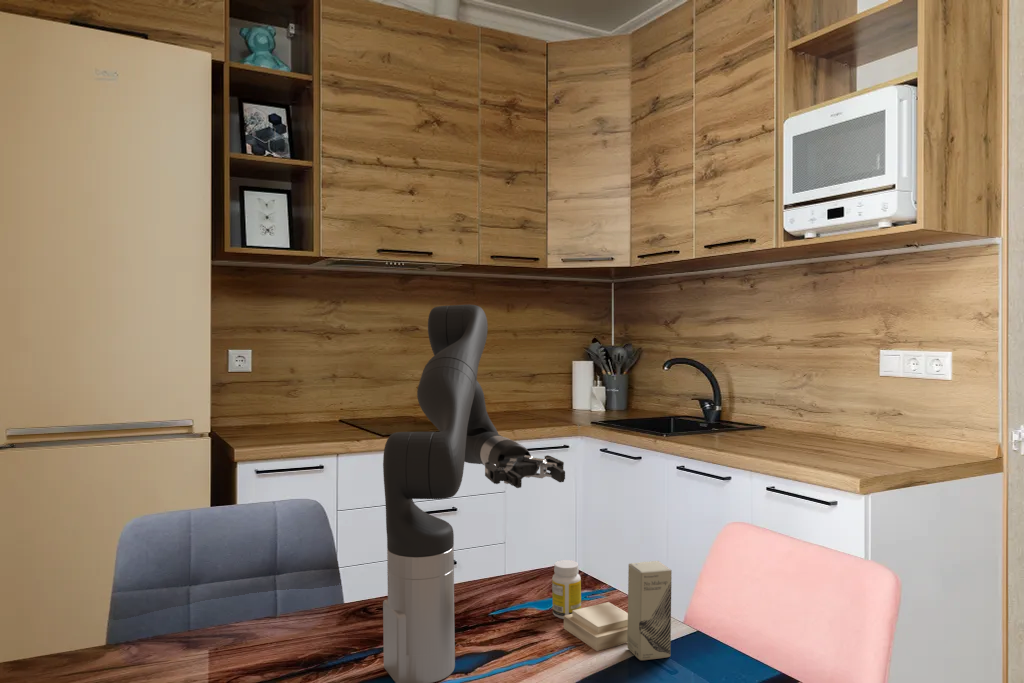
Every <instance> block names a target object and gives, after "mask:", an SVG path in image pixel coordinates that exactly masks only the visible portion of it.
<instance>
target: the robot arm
mask: <svg viewBox="0 0 1024 683" xmlns="http://www.w3.org/2000/svg"><path fill="white" fill-rule="evenodd" d="M488 327H489V326H488V318H487V314H486V312H485V311H484V309H483V308H482V307H481V306H479V305H475V304H454V305H453V304H452V305H440V306H439V305H438V306H434V307H433V308H431V310H430V311H429V314H428V318H427V334H428V339H429V345H430V347H431V350H432V353H433V356H432V357H431V358H430V359H429V360H428V362H426V364H425V366H424V368H423V370H422V373H421V376H420V379H419V383H418V386H417V390H416V391H417V393H416V397H417V401H418V404H419V407H420V409H421V411H422V412H423V414H424V415H425V416H426V418H427V419H428V420H429V421H430V422H431V423H432V424H433V426H435V427H436V428H437V430H438V431H396V432H393V433H392V434H390V435H389V436H388V438H387V439H386V443H385V444H384V449H383V458H382V459H383V460H382V461H383V462H382V468H383V469H382V470H383V471H382V472H383V486H384V498H385V503H384V504H385V525H386V526H385V527H386V528H385V529H386V551H387V552H386V554H387V555H386V557H387V560H386V561H387V562H386V564H387V569H386V570H387V572H386V573H387V575H386V576H387V599H384V600H383V601H382V619H383V620H382V623H383V625H382V627H383V628H382V630H383V634H382V635H383V641H382V642H383V643H382V644H383V668H384V669H385V671H386V672H387V673H388V675H389V676H390V677H391V679H392V680H393V681H394V683H435V682H439V681H441V680H444V679H446V678H448V677H450V675H451V674H453V672H454V670H455V668H456V662H455V661H456V649H455V648H456V647H455V643H456V642H455V640H456V639H455V638H456V637H455V636H456V635H455V568H454V567H455V559H454V558H455V557H454V556H455V554H454V553H455V551H454V550H455V549H454V545H455V543H454V542H455V541H454V540H455V537H454V536H455V534H454V529H453V526H452V525H451V524H450V523H449V522H448V521H446V520H444V519H441V518H440V517H437V516H434V515H431V514H430V513H427V512H426V511H424V510H422V509H421V508H420V507H419V506H417V504H415V502H414V500H445V499H450V498H453V497H454V496H456V495H457V493H458V491H459V490H460V488H461V485H462V481H463V477H464V476H463V475H464V469H465V468H464V467H465V463H468V464H476V465H482V466H484V476H485V478H487V479H488V480H489V481H491V483H493V484H494V485H498V484H499V485H500V484H501V482H503V483H504V484H505V485H506V484H507V485H508V484H509V485H510V486H513V487H514V488H517V489H521V488H522V479H524V478H535V479H536V478H537V479H543V478H546V477H548V478H551V479H553V480H554V481H556V482H558V483H564V482H565V480H566V471H565V470H564V465H565V462H564V461H563V460H560V459H558V458H555V457H553V456H551V455H549V454H547V455H544V458H537V457H534V456H533V455H532V454H530V451H529V450H528V449H527V448H526V446H524V445H522V444H520V443H518V442H516V441H514V440H513V439H511V438H509V437H505V436H503V435H500V434H499V433H498V430H497V428H496V427H495V424H494V423H493V422H492V420H491V418H490V416H489V414H488V411H487V406H486V400H485V394H484V391H483V388H482V386H481V383H479V381H478V371H479V365H480V361H481V358H482V356H483V352H484V349H485V346H486V343H487V339H488ZM538 471H539V472H538Z"/></svg>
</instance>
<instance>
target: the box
mask: <svg viewBox="0 0 1024 683" xmlns="http://www.w3.org/2000/svg"><path fill="white" fill-rule="evenodd" d="M627 571H628V572H627V573H628V577H627V578H628V581H627V582H628V584H627V587H628V588H627V589H628V590H627V613H628V631H627V643H626V646H627V649H628V650H629V651H630V652H631V653H632V654H633V655H634V656H635V657H636V658H637V659H638V660H639V661H648V660H650V661H651V660H656V659H664V658H670V657H671V651H672V650H671V646H672V645H671V644H672V643H671V642H672V639H671V638H672V637H671V636H672V635H671V634H672V573H673V572H672V569H671V568H669V567H667V565H665V564H663V563H662V562H661V561H659V560H655V561H640V562H631V563H630V562H629V563H628V570H627Z"/></svg>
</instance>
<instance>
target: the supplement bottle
mask: <svg viewBox="0 0 1024 683" xmlns="http://www.w3.org/2000/svg"><path fill="white" fill-rule="evenodd" d="M553 564H554V569H553V571H554V574H553V575H552V577H551V580H552V581H551V585H552V586H551V590H552V595H551V597H552V598H551V599H552V614H553V615H554V617H556V618H559V619H562V620H564V616H565V615H569V614H572V610H577V609H581V608H582V579H581V578H582V577H581V574H579V563H578V562H577V561H575V560H571V559H570V560H569V559H563V560H562V559H561V560H558V561H555V562H554V563H553Z"/></svg>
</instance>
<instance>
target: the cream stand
mask: <svg viewBox="0 0 1024 683" xmlns="http://www.w3.org/2000/svg"><path fill="white" fill-rule="evenodd" d="M563 629H564V630H565V631H567V632H568V633H570V634H571V635H573V636H574V637H575V638H577V639H578V640H580V641H582V642H583V643H585V645H587V646H588V647H590V648H592V649H593V650H595V652H599V651H602V650H606V649H609V648H613V647H617V646H620V645H623V644H627V631H628V611H625V610H624V609H621V608H620V607H618V606H616V605H614V604H613V603H611V602H610V601H607V602H603V603H599V604H594V605H590V606H586V607H581V609H577V610H572V614H569V615H565V616H564V619H563Z"/></svg>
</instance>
